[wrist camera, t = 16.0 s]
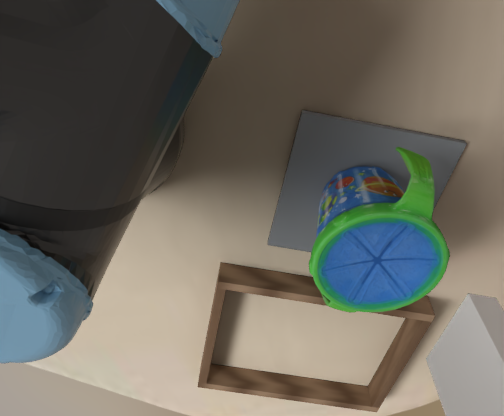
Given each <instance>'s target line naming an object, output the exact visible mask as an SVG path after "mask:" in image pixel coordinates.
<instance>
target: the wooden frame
mask: <svg viewBox="0 0 504 416" xmlns="http://www.w3.org/2000/svg"><path fill="white" fill-rule="evenodd" d="M226 290H232V291H238V292H244V293H251V294H257V295H263V296H270V297H276V298H282V299H289V300H295V301H301V302H308V303H314V304H320V305H326V303H325V301H324V300H323V297H322V294H321V292H320V290H319V289H318V287H317V285H316V284H315V281H314V279H313V277H307V276H301V275H295V274H289V273H282V272H276V271H270V270H264V269H258V268H252V267H245V266H239V265H233V264H227V263H220V269H219V274H218V279H217V284H216V290H215V295H214V300H213V305H212V310H211V316H210V321H209V326H208V331H207V337H206V342H205V347H204V352H203V358H202V363H201V368H200V375H199V382H198V387H201V388H208V389H215V390H222V391H229V392H236V393H244V394H251V395H258V396H265V397H272V398H279V399H286V400H293V401H301V402H308V403H315V404H322V405H329V406H336V407H343V408H350V409H357V410H365V411H372V412H377V411H378V409H379V408H380V406H381V404H382V403H383V401H384V399H385V398H386V396H387V394H388V393H389V391H390V389H391V388H392V386H393V385H394V383H395V381H396V380H397V378H398V376H399V375H400V373H401V371H402V370H403V368H404V367H405V365H406V363H407V362H408V360H409V358H410V357H411V355H412V353H413V352H414V350H415V349H416V347H417V345H418V344H419V342H420V340H421V339H422V337H423V335H424V334H425V332H426V331H427V329H428V327H429V326H430V324H431V322H432V321H433V319H434V317H435V314H434V311H433V309H432V306H431V304H430V301H429V299H428V296H424V297H422V298H421V299H419V300H417V301H415V302H413V303H411V304H409V305H407V306H404V307H401V308H398V309H395V310H390V311H384V312H371V313H378V314H384V315H390V316H397V317H403V318H406V319H405V321H404V323H403V324H402V326H401V328H400V330H399V331H398V333H397V335H396V337H395V339H394V340H393V342H392V344H391V346H390V348H389V349H388V351H387V353H386V355H385V357H384V358H383V360H382V362H381V364H380V366H379V367H378V369H377V371H376V373H375V375H374V376H373V378H372V380H371V382H370V383H369V385H368V387H367V386H360V385H353V384H347V383H340V382H333V381H326V380H319V379H312V378H305V377H298V376H291V375H284V374H277V373H270V372H264V371H257V370H250V369H243V368H236V367H229V366H222V365H215V364H210V363H211V359H212V354H213V349H214V344H215V340H216V335H217V330H218V325H219V321H220V316H221V311H222V306H223V301H224V297H225V292H226Z"/></svg>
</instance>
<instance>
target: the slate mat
mask: <svg viewBox="0 0 504 416" xmlns="http://www.w3.org/2000/svg"><path fill="white" fill-rule="evenodd" d="M466 144H467V143H466V142H465V141H463V140H458V139H453V138H447V137H442V136H437V135H432V134H426V133H421V132H416V131H411V130H405V129H400V128H395V127H390V126H384V125H379V124H374V123H368V122H363V121H358V120H353V119H347V118H342V117H337V116H332V115H326V114H321V113H316V112H311V111H305V110H302V112H301V116H300V120H299V124H298V128H297V131H296V135H295V139H294V143H293V147H292V150H291V154H290V158H289V162H288V166H287V170H286V173H285V177H284V181H283V185H282V189H281V193H280V196H279V200H278V204H277V208H276V212H275V216H274V219H273V223H272V227H271V231H270V235H269V238H268V245H271V246H277V247H283V248H289V249H295V250H301V251H307V252H312V248H313V245H314V243H315V240H316V233H317V222H318V213H319V202H320V200H321V196H322V192H323V190H324V187H325V186H326V184H327V183H328V182H329V181H330V180H331V179H332V178H333V176H334V175H335V174H337V173H338V172H339V171H345V170H347V169H349V168H353V167H366V166H368V167H372V166H374V167H379V168H381V169H382V170H383V171H385V172H387V173H388V174H389V175H390V176H392V177H393V178H394V179H395V180H396V181H397V182H398V184H399V185H400V186H401V187H402V188H403V189H404V191H405V192H406V190H407V187H408V184H409V181H410V178H411V174H410V173H409V171H408V169H407V166H406V165H405V162H404V160H403V159H402V156H401V154H400V153H399V152H398V151H396V147H401V148H404V149H407V150H410V151H413V152H415V153H417V154H419V155H421V156H423V157H425V158H426V159H428V160H429V163H430V165H431V169H432V174H433V179H434V188H435V195H434V207H433V210H434V208H435V206H436V204H437V202H438V200H439V198H440V196H441V194H442V192H443V190H444V188H445V186H446V184H447V182H448V180H449V178H450V176H451V174H452V172H453V170H454V168H455V166H456V164H457V162H458V160H459V158H460V156H461V154H462V152H463V150H464V148H465V146H466Z"/></svg>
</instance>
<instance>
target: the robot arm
mask: <svg viewBox="0 0 504 416" xmlns="http://www.w3.org/2000/svg"><path fill="white" fill-rule="evenodd" d="M239 1H240V0H0V363H9V362H15V363H25V362H32V361H36V360H40V359H43V358H46V357H49V356H51V355H53V354H55V353H56V352H58V351H60V350H61V349H62V348H64V347H65V346H66V345H67V344H68V343H69V342H70V341H71V340H72V339H73V337H74V336H75V334H76V332H77V330H78V328H79V327H80V325H81V323H82V321H83V320H85V319H86V318H87V317H88V316H89V315H90V313H91V310H92V307H93V302H92V300H93V297H94V295H95V293H96V291H97V289H98V286H99V284H100V282H101V280H102V278H103V276H104V274H105V272H106V269H107V267H108V265H109V263H110V261H111V259H112V257H113V255H114V253H115V251H116V249H117V247H118V245H119V243H120V241H121V239H122V237H123V235H124V233H125V231H126V229H127V227H128V225H129V223H130V221H131V219H132V217H133V215H134V213H135V211H136V209H137V207H138V205H139V203H140V201H141V199H143V198H144V197H145V196H147V195H148V194H150V193H152V192H153V191H155V190H156V189H157V188H158V187H159V186H161V185H162V184H163V183H164V181H165V180H166V179H167V178H168V176H169V175H170V174H171V172H172V170H173V169H174V167H175V164H176V162H177V160H178V157H179V154H180V151H181V148H182V144H183V139H184V119H183V116H184V114H185V112H186V110H187V108H188V106H189V104H190V102H191V100H192V98H193V96H194V94H195V92H196V90H197V88H198V86H199V84H200V82H201V80H202V78H203V76H204V74H205V72H206V70H207V68H208V66H209V64H210V62H211V60H212V58H213V57H214V58H218V57H219V56H220V54H221V52H222V46H221V41H222V39H223V36H224V34H225V32H226V30H227V27H228V25H229V23H230V21H231V19H232V16H233V14H234V12H235V10H236V7H237V5H238V3H239ZM426 360H427V363H428V366H429V369H430V372H431V375H432V377H433V380H434V383H435V386H436V389H437V392H438V395H439V398H440V400H441V404H442V407H443V410H444V412H445V415H446V416H504V311H503V309H502V307H501V306H500V304H499V302H498V301H497V299H496V298H494V297H488V296H482V295H476V294H470V293H468V295H467V296H466V298H465V299H464V301H463V302H462V304H461V305H460V307H459V308H458V310H457V312H456V313H455V315H454V316H453V318H452V319H451V321H450V322H449V324H448V326H447V327H446V329H445V330H444V332H443V333H442V335H441V336H440V338H439V339H438V341H437V343H436V344H435V346H434V347H433V349H432V350H431V352H430V353H429V355H428V357H427V358H426Z"/></svg>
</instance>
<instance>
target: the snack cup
mask: <svg viewBox="0 0 504 416" xmlns="http://www.w3.org/2000/svg"><path fill="white" fill-rule="evenodd" d="M396 151H398V152H399V153H400V154H401V156H402V159H403V160H404V162H405V165H406V166H407V169H408V171H409V173H410V174H411V178H410V181H409V184H408V187H407V190H406V192H405V191H404V189H403V188H402V187H401V186H400V185H399V184H398V182H397V181H396V180H395V179H394V178H393V177H392V176H390V175H389V174H388V173H387V172H385V171H383V170H382V169H381V168H379V167H374V166H372V167H368V166H366V167H353V168H349V169H347V170H345V171H339V172H338V173H337V174H335V175H334V176H333V178H332V179H331V180H330V181H329V182H328V183H327V184H326V186H325V187H324V190H323V192H322V196H321V200H320V202H319V213H318V222H317V233H316V240H315V243H314V245H313V248H312V253H311V258H310V261H309V270H310V274H311V275H313V279H314V281H315V284H316V285H317V287H318V289H319V290H320V292H321V294H322V297H323V300H324V301H325V303H326V305H327V306H329V307H332V308H335V309H338V310H342V311H346V312H356V311H361V312H384V311H390V310H395V309H398V308H401V307H404V306H407V305H409V304H411V303H413V302H415V301H417V300H419V299H421V298H422V297H424V296H425V295H426V294H428V293H429V292H430V291H431V290H432V289H433V288H435V286H436V285H437V284H438V283H439V281H440V280H441V279H442V277H443V275H444V273H445V271H446V268H447V263H448V260H449V257H450V253H449V249H448V247H447V244H446V241H445V239H444V237H443V235H442V233H441V231H440V229H439V228H438V227H437V225H436V224H435V223H434V222H433V221H432V213H433V207H434V195H435V188H434V179H433V174H432V169H431V165H430V163H429V160H428V159H426V158H425V157H423V156H421V155H419V154H417V153H415V152H413V151H410V150H407V149H404V148H401V147H396Z"/></svg>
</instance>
